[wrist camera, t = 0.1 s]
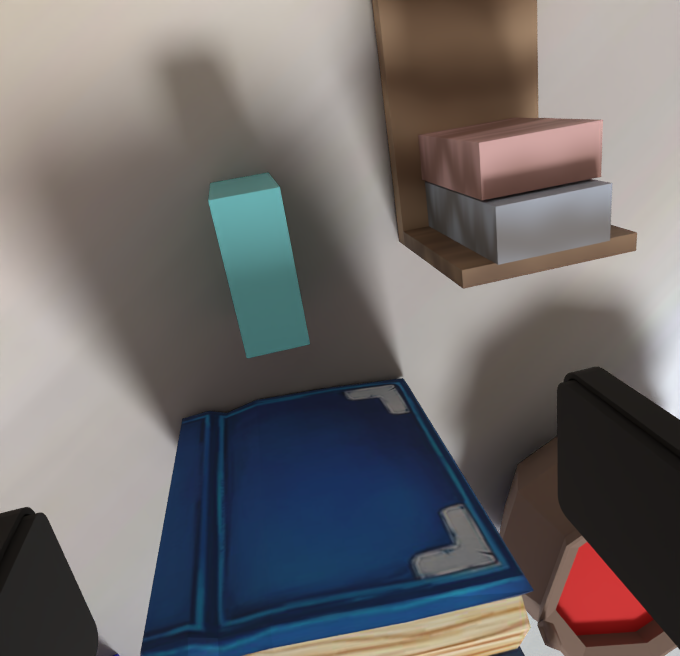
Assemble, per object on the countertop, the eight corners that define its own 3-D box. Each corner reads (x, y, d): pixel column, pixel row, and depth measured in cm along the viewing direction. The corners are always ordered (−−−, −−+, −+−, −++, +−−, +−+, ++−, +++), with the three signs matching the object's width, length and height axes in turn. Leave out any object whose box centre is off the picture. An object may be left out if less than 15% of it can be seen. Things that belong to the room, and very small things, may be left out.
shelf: (360, -101, 38) (432, -208, 25) (524, -122, 39) (670, -232, 27) (399, 241, 47) (465, 290, 34) (530, 214, 49) (640, 251, 36)
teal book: (210, 182, 42) (208, 200, 34) (268, 172, 43) (279, 187, 35) (242, 314, 47) (246, 358, 39) (294, 303, 47) (310, 344, 39)
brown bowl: (476, 598, 65) (553, 744, 50) (446, 430, 55) (530, 548, 40) (661, 532, 67) (787, 653, 52) (663, 360, 58) (818, 448, 43)
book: (181, 476, 51) (150, 771, 28) (166, 409, 48) (119, 677, 26) (406, 436, 55) (540, 671, 32) (404, 372, 52) (549, 578, 29)
